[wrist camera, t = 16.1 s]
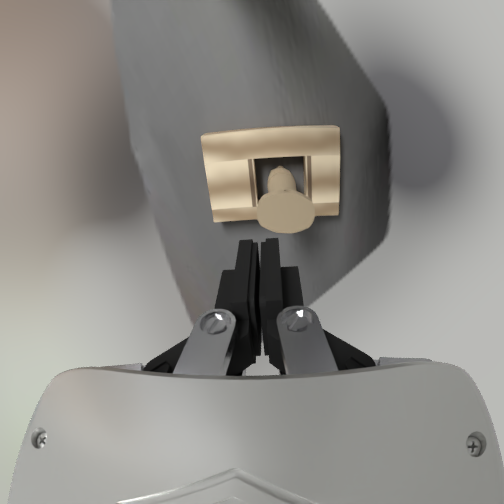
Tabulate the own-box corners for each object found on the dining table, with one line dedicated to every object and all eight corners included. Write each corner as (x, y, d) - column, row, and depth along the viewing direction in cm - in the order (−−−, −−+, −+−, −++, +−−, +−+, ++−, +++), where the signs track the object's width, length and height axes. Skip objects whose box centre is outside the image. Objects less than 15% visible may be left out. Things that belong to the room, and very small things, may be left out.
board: (204, 133, 40) (200, 136, 37) (334, 125, 38) (339, 127, 36) (217, 214, 48) (214, 222, 45) (334, 207, 46) (338, 215, 43)
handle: (298, 189, 44) (312, 234, 32) (259, 188, 45) (256, 232, 32) (301, 161, 42) (317, 194, 29) (259, 159, 42) (257, 192, 29)
